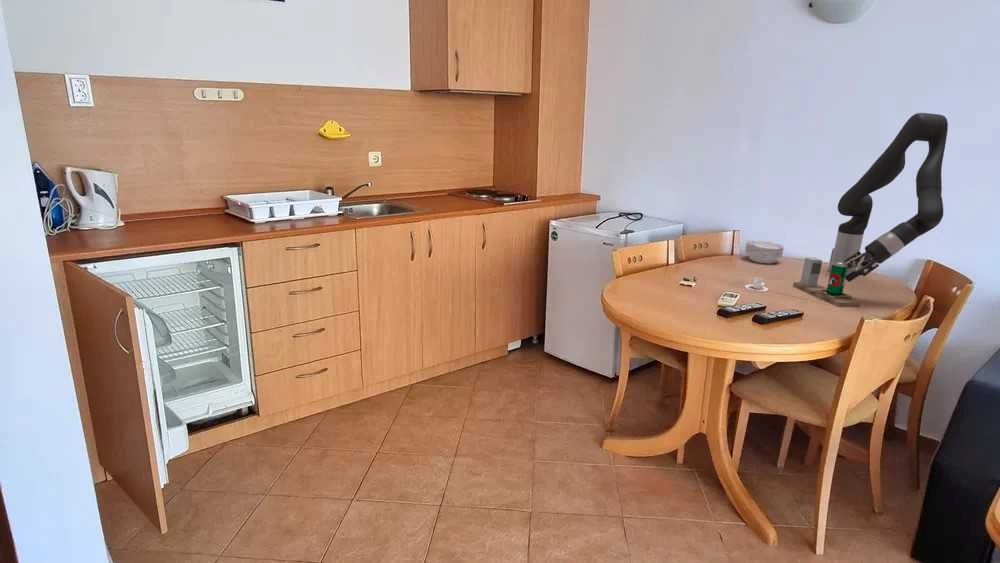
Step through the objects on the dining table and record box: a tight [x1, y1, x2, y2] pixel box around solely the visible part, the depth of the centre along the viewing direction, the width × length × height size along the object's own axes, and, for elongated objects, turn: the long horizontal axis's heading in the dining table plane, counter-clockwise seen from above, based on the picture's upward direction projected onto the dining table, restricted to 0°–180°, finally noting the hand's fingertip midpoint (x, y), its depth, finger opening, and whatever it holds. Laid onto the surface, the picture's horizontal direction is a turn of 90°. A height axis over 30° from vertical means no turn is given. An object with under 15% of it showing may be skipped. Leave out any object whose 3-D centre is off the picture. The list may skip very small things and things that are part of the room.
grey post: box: [799, 256, 823, 286], centre depth 223 cm, size 5×4×10 cm
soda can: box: [826, 261, 848, 296], centre depth 210 cm, size 5×5×12 cm
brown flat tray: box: [792, 281, 861, 308], centre depth 216 cm, size 24×8×2 cm, turn 11°
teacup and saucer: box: [744, 277, 769, 292], centre depth 222 cm, size 9×8×4 cm
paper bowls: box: [744, 239, 784, 264], centre depth 263 cm, size 15×15×8 cm
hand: (841, 276), depth 210 cm, fingers open, 8 cm apart
